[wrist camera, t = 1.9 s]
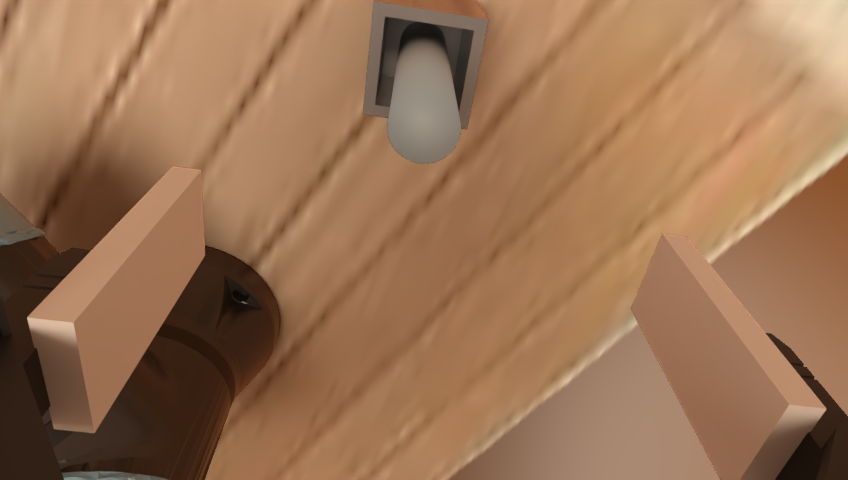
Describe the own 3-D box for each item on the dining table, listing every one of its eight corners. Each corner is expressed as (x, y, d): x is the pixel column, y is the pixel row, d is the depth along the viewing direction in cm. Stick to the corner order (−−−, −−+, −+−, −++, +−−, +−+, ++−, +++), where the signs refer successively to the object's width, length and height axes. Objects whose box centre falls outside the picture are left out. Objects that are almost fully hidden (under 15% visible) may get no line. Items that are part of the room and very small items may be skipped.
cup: (372, 80, 42) (362, 114, 36) (382, -15, 39) (374, 1, 32) (459, 93, 43) (467, 129, 36) (476, 0, 40) (488, 19, 33)
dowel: (397, 63, 41) (383, 158, 26) (403, 16, 40) (392, 87, 24) (441, 70, 41) (454, 167, 26) (448, 24, 40) (467, 98, 24)
